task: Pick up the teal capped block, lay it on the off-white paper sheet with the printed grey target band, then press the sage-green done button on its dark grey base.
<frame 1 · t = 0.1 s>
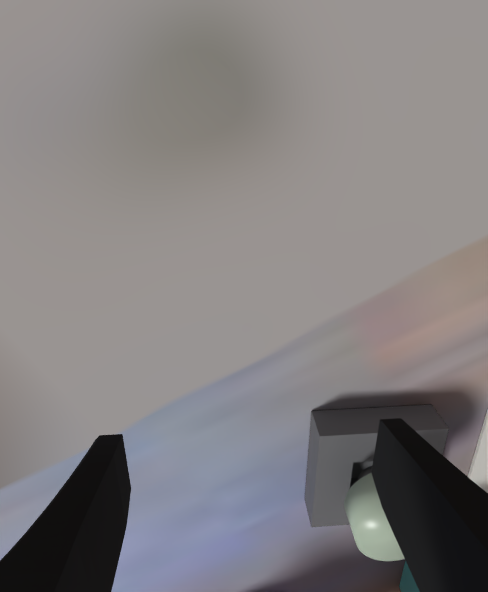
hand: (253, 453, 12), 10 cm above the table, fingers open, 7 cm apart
teal capped block: (433, 543, 31), on the table
done button: (386, 503, 23), point 3 cm above the table, slide at 0.0 cm
button base: (365, 453, 26), on the table
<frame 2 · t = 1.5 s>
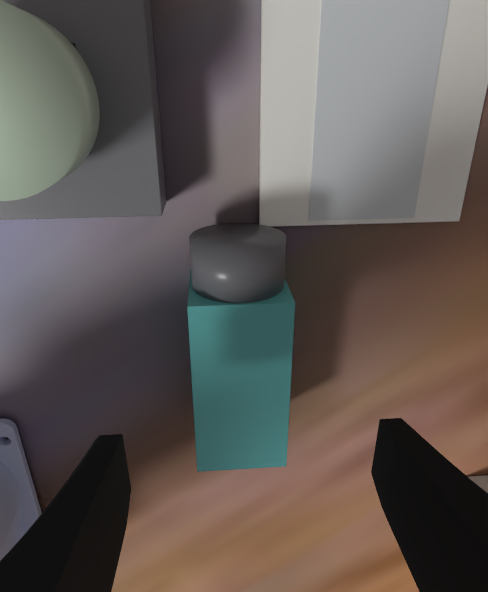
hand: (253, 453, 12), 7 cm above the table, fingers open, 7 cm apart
teal capped block: (235, 327, 19), on the table
done button: (11, 102, 12), point 3 cm above the table, slide at 0.0 cm
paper: (373, 98, 15), on the table
button base: (52, 100, 15), on the table
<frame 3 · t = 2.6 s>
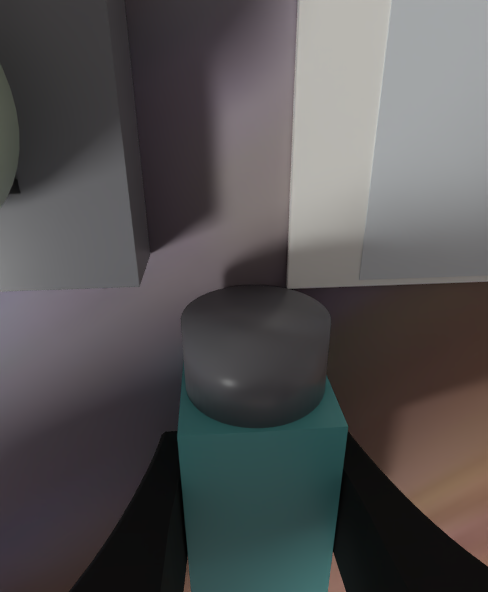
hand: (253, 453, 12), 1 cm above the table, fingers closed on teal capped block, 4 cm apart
teal capped block: (248, 422, 14), on the table, touching gripper
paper: (465, 100, 10), on the table
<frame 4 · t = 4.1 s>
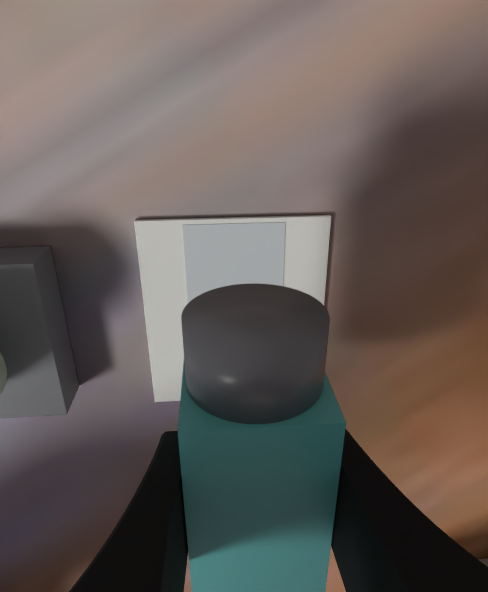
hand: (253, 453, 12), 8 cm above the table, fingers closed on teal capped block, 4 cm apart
teal capped block: (248, 418, 14), point 7 cm above the table, touching gripper
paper: (235, 314, 20), on the table
when the fingers open (3 cm above the table, at t = 5.5 s): teal capped block stays where it is, resting on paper.
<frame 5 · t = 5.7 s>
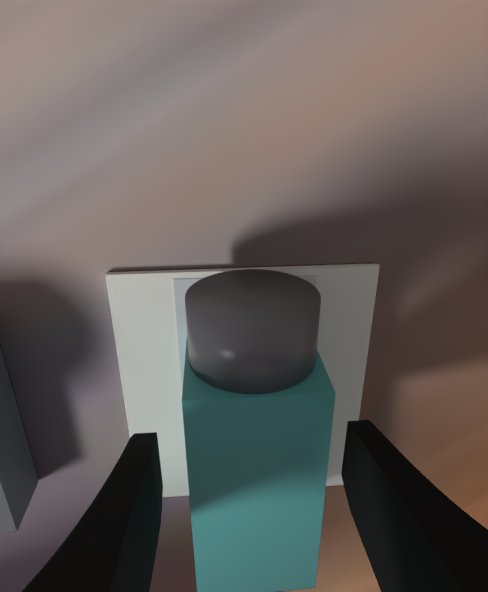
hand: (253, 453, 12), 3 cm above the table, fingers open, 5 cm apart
teal capped block: (246, 398, 15), resting on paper
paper: (245, 391, 15), on the table
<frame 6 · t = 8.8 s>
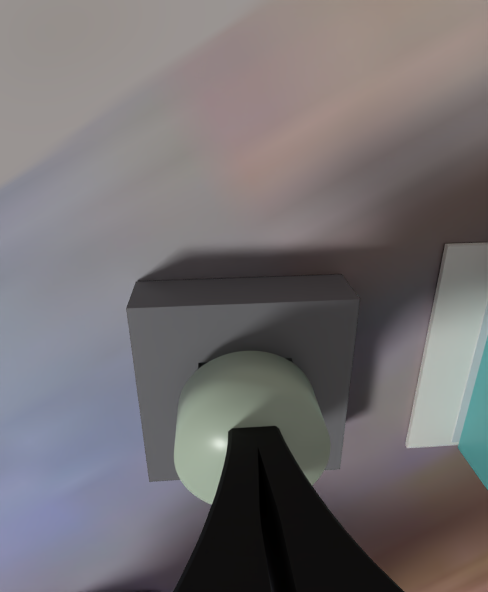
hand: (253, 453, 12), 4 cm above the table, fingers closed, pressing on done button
done button: (247, 415, 14), point 3 cm above the table, slide at 0.7 cm, touching gripper
button base: (241, 364, 16), on the table
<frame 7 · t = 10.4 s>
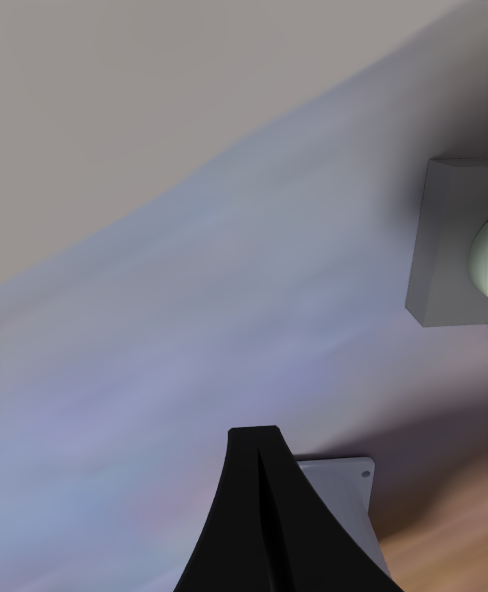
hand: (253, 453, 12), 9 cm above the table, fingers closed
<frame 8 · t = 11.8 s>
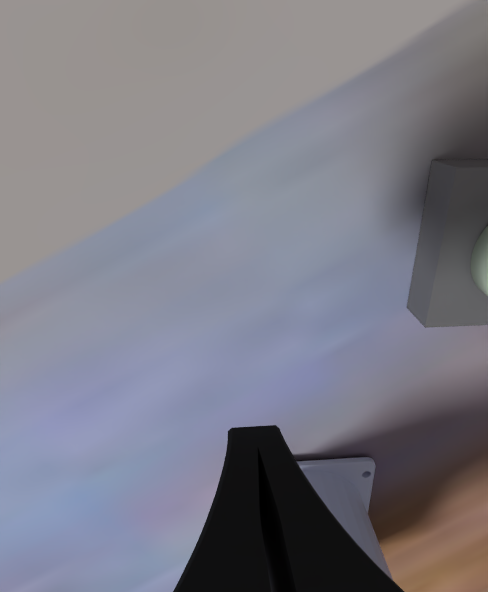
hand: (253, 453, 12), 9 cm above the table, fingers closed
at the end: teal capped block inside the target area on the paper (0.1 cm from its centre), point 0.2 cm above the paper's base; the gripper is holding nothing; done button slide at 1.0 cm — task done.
